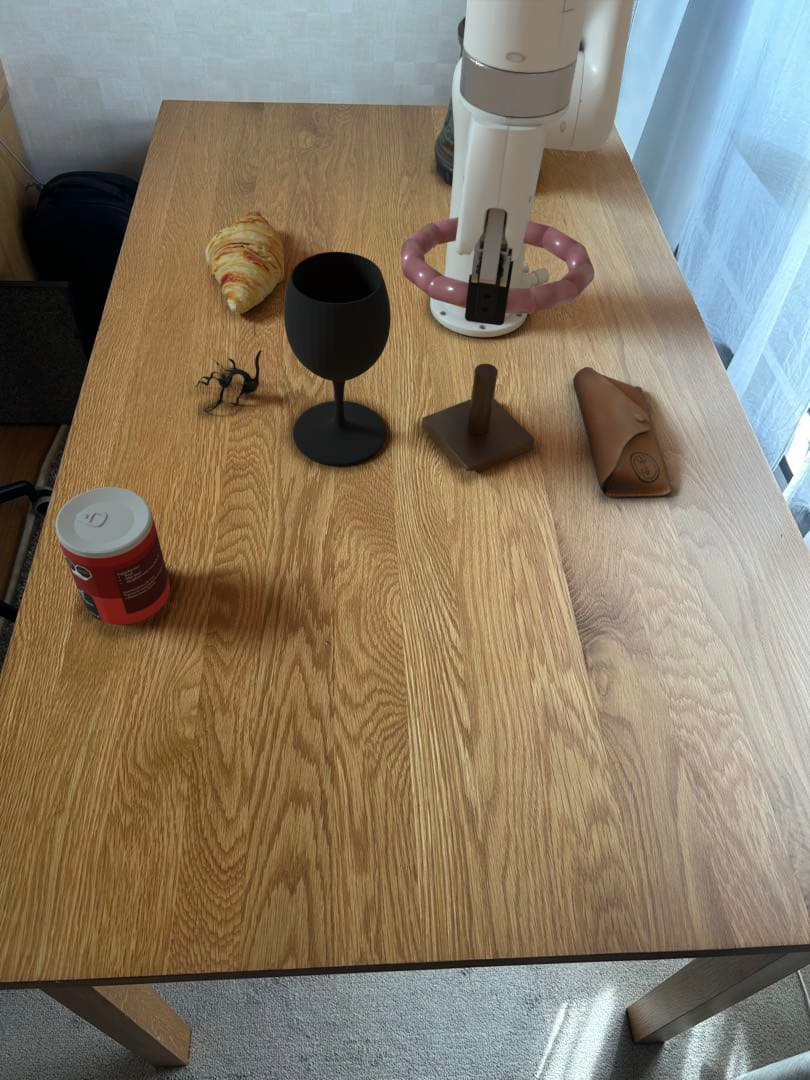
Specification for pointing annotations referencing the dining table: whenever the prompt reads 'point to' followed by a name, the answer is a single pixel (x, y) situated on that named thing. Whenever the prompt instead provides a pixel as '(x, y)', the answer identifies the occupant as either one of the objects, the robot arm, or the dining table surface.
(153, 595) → the canned food
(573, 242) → the ring
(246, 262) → the croissant
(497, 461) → the stand
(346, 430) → the wine glass
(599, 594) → the dining table surface
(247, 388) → the creature
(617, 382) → the sunglasses case
